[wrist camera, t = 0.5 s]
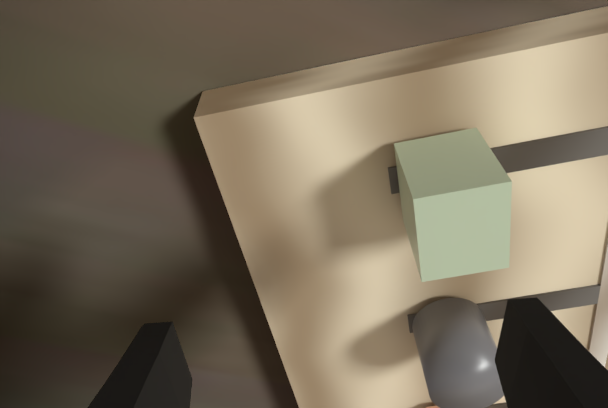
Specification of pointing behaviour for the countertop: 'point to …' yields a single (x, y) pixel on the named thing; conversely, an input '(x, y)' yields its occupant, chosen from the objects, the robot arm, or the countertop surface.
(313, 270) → the control board
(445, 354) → the charcoal knob
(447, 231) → the matte mint cube
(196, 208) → the countertop surface
